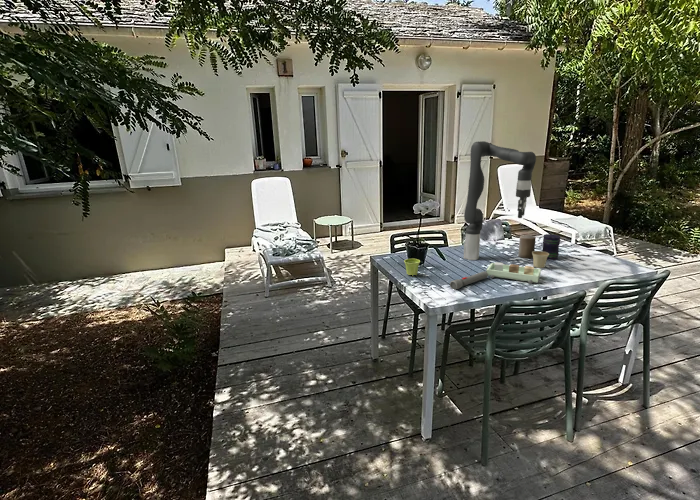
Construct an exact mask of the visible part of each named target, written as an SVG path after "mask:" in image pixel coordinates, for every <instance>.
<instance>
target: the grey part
mask: <svg viewBox="0 0 700 500" xmlns="http://www.w3.org/2000/svg"><path fill="white" fill-rule="evenodd" d="M494 263H495V270H497V271H503V264H504V262H496V261H495V262H494Z"/></svg>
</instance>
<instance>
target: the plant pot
mask: <svg viewBox="0 0 700 500" xmlns="http://www.w3.org/2000/svg"><path fill="white" fill-rule="evenodd" d="M403 262H404V265H405V271H406V275H407V274H408V275H412V276H411V277H414V276H413V275H416V276H418V272H419V265H420V263H421V260H420V259H417V258H407V259H404V261H403ZM408 275H407V276H408Z"/></svg>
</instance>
